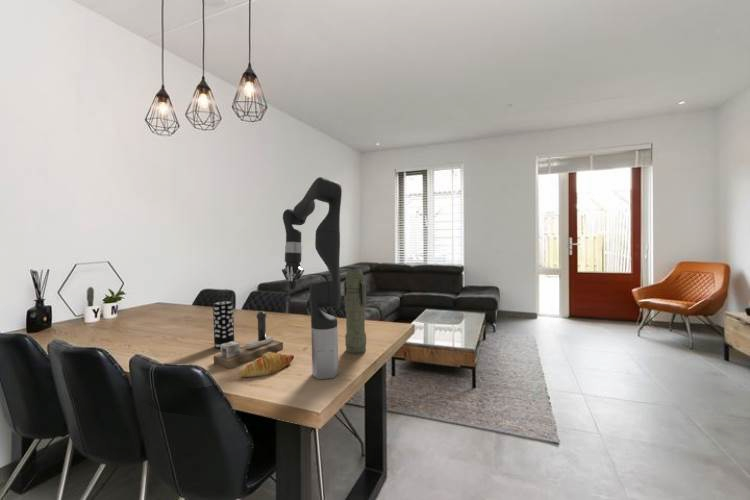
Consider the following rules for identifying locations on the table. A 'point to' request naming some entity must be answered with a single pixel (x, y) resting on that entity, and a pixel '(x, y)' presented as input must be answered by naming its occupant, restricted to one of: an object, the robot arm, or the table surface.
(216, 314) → the spotted tube
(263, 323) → the bolt
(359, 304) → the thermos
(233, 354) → the door board
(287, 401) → the table surface
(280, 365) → the croissant
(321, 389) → the table surface
